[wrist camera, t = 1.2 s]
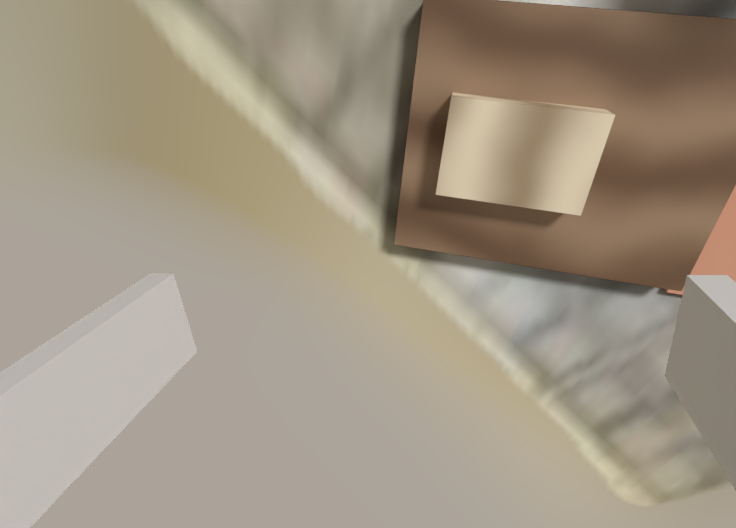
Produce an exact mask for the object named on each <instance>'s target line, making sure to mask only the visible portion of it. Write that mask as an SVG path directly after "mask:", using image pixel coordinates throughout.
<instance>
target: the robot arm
mask: <svg viewBox="0 0 736 528" xmlns="http://www.w3.org/2000/svg"><path fill="white" fill-rule="evenodd" d="M196 353H197V349H196V346H195V342H194V339H193V336H192V333H191V329H190V326H189V323H188V320H187V317H186V313H185V310H184V307H183V304H182V300H181V297H180V294H179V291H178V287H177V284H176V281H175V278H174V275H173V273H151V274H149V275H148V276H146V277H144V278H143V279H142V280H140V281H138V282H137V283H135V284H134V285H132V286H131V287H129V288H128V289H126V290H125V291H123V292H122V293H120V294H119V295H117V296H116V297H114V298H113V299H111V300H109V301H108V302H106V303H105V304H103V305H102V306H100V307H99V308H97V309H96V310H94V311H93V312H91V313H90V314H88V315H87V316H85V317H84V318H82V319H81V320H79V321H78V322H76V323H74V324H73V325H71V326H70V327H68V328H67V329H65V330H64V331H62V332H61V333H59V334H58V335H57V336H55V337H53V338H52V339H50V340H49V341H47V342H46V343H44V344H43V345H41V346H40V347H38V348H36V349H35V350H34V351H32V352H31V353H29V354H28V355H26V356H25V357H23V358H21V359H20V360H18V361H17V362H15V363H14V364H12V365H11V366H9V367H8V368H6V369H5V370H3V371H1V372H0V528H30V527H32V525H33V524H34V523H35V522H36V521H37V520H38V519H39V518H40V517H41V516H42V515H43V514H44V513H45V512H46V511H47V509H49V507H50V506H51V505H52V504H53V503H54V502H55V501H56V500H57V499H58V498H59V497H60V496H61V495H62V494H63V493H64V492H65V491H66V490H67V489H68V488H69V486H70V485H71V484H72V483H73V482H74V481H75V480H76V479H77V478H78V477H79V476H80V475H81V474H82V473H83V472H84V471H85V470H86V468H87V467H88V466H89V465H90V464H91V463H92V462H93V461H94V460H95V459H96V458H97V457H98V456H99V455H100V454H101V453H102V452H103V451H104V450H105V448H106V447H107V446H108V445H109V444H110V443H111V442H112V441H113V440H114V439H115V438H116V437H117V436H118V435H119V434H120V433H121V431H123V429H124V428H125V427H126V426H127V425H128V424H129V423H130V422H131V421H132V420H133V419H134V418H135V417H136V416H137V415H138V414H139V412H141V410H142V409H143V408H144V407H145V406H146V405H147V404H148V403H149V402H150V401H151V400H152V399H153V398H154V397H155V396H156V395H157V394H158V392H159V391H160V390H161V389H162V388H163V387H164V386H165V385H166V384H167V383H168V382H169V381H170V380H171V379H172V378H173V377H174V376H175V375H176V374H177V372H179V370H180V369H181V368H182V367H183V366H184V365H185V364H186V363H187V362H188V361H189V360H190V359H191V358H192V357H193V356H194V354H196ZM665 377H666V378H667V380H668V381H669V383H670V385H671V386H672V388H673V389H674V391H675V393H676V394H677V396H678V398H679V399H680V401H681V402H682V404H683V406H684V407H685V409H686V411H687V412H688V414H689V415H690V417H691V419H692V420H693V422H694V423H695V425H696V427H697V428H698V430H699V432H700V433H701V435H702V436H703V438H704V440H705V441H706V443H707V445H708V446H709V448H710V449H711V451H712V453H713V454H714V456H715V458H716V459H717V461H718V462H719V464H720V466H721V467H722V469H723V470H724V472H725V474H726V475H727V477H728V479H729V480H730V482H731V483H732V485H733V487H734V488H735V490H736V282H735V281H734V280H732V279H731V278H730V277H729V276H728V275H687V277H686V281H685V286H684V290H683V295H682V300H681V304H680V309H679V313H678V318H677V322H676V327H675V332H674V336H673V341H672V345H671V350H670V354H669V359H668V364H667V368H666V373H665Z"/></svg>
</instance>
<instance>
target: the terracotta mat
mask: <svg viewBox="0 0 736 528" xmlns="http://www.w3.org/2000/svg"><path fill="white" fill-rule="evenodd" d="M690 275H728V276H729V277H730V278H731V279H732V280H734V281H735V282H736V185H735V187H734V189H733V191H732V193H731V195H730V197H729V199H728V201H727V203H726V205H725V207H724V209H723V211H722V213H721V215H720V217H719V219H718V221H717V223H716V224H715V226H714V228H713V230H712V232H711V234H710V236H709V238H708V240H707V242H706V244H705V246H704V248H703V250H702V252H701V254H700V256H699V258H698V260H697V262H696V264H695V266H694V268H693V270H692V272H691V273H690ZM684 286H685V285H684ZM683 290H684V287H683V289H682V291H676V290H669V289H665V291H666V292H668V293H674V294H680V295H683Z"/></svg>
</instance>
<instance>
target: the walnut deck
mask: <svg viewBox="0 0 736 528" xmlns="http://www.w3.org/2000/svg"><path fill="white" fill-rule="evenodd" d="M452 93H462V94H471V95H480V96H489V97H499V98H508V99H517V100H526V101H535V102H544V103H553V104H562V105H571V106H580V107H590V108H599V109H606V110H608V111H610V112H611V113H613V114H615V118H614V121H613V124H612V126H611V129H610V132H609V135H608V138H607V141H606V144H605V147H604V150H603V153H602V156H601V159H600V162H599V164H598V167H597V170H596V173H595V176H594V179H593V182H592V185H591V188H590V191H589V194H588V197H587V200H586V202H585V205H584V208H583V211H582V214H581V216H579V215H572V214H565V213H558V212H552V211H545V210H538V209H531V208H524V207H517V206H510V205H503V204H496V203H489V202H482V201H476V200H469V199H462V198H455V197H448V196H441V195H436V188H437V182H438V176H439V170H440V164H441V158H442V151H443V145H444V139H445V133H446V127H447V120H448V114H449V108H450V102H451V96H452ZM735 185H736V19H728V18H715V17H702V16H690V15H677V14H664V13H651V12H638V11H626V10H613V9H600V8H587V7H574V6H562V5H549V4H536V3H523V2H510V1H498V0H423V7H422V15H421V24H420V32H419V40H418V49H417V57H416V65H415V74H414V82H413V90H412V99H411V107H410V115H409V124H408V132H407V140H406V149H405V157H404V165H403V174H402V182H401V190H400V199H399V207H398V215H397V224H396V232H395V240H394V244H395V245H401V246H407V247H413V248H419V249H425V250H431V251H437V252H443V253H450V254H456V255H462V256H468V257H474V258H480V259H486V260H492V261H498V262H505V263H511V264H517V265H523V266H529V267H535V268H541V269H547V270H553V271H560V272H566V273H572V274H578V275H584V276H590V277H596V278H602V279H608V280H615V281H621V282H627V283H633V284H639V285H645V286H651V287H657V288H663V289H669V290H676V291H682V289H683V287H684V285H685V281H686V277H687V275H690V273H691V272H692V270H693V268H694V266H695V264H696V262H697V260H698V258H699V256H700V254H701V252H702V250H703V248H704V246H705V244H706V242H707V240H708V238H709V236H710V234H711V232H712V230H713V228H714V226H715V224H716V223H717V221H718V219H719V217H720V215H721V213H722V211H723V209H724V207H725V205H726V203H727V201H728V199H729V197H730V195H731V193H732V191H733V189H734V187H735Z"/></svg>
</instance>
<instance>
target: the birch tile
mask: <svg viewBox="0 0 736 528" xmlns="http://www.w3.org/2000/svg"><path fill="white" fill-rule="evenodd" d="M614 118H615V114H613V113H611V112H610V111H608V110H606V109H599V108H590V107H580V106H571V105H562V104H553V103H544V102H535V101H526V100H517V99H508V98H499V97H489V96H480V95H471V94H462V93H452V96H451V102H450V108H449V114H448V120H447V127H446V133H445V139H444V145H443V151H442V158H441V164H440V170H439V176H438V182H437V188H436V195H441V196H448V197H455V198H462V199H469V200H476V201H482V202H489V203H496V204H503V205H510V206H517V207H524V208H531V209H538V210H545V211H552V212H558V213H565V214H572V215H579V216H581V214H582V211H583V208H584V205H585V202H586V200H587V197H588V194H589V191H590V188H591V185H592V182H593V179H594V176H595V173H596V170H597V167H598V164H599V162H600V159H601V156H602V153H603V150H604V147H605V144H606V141H607V138H608V135H609V132H610V129H611V126H612V124H613V121H614Z"/></svg>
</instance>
